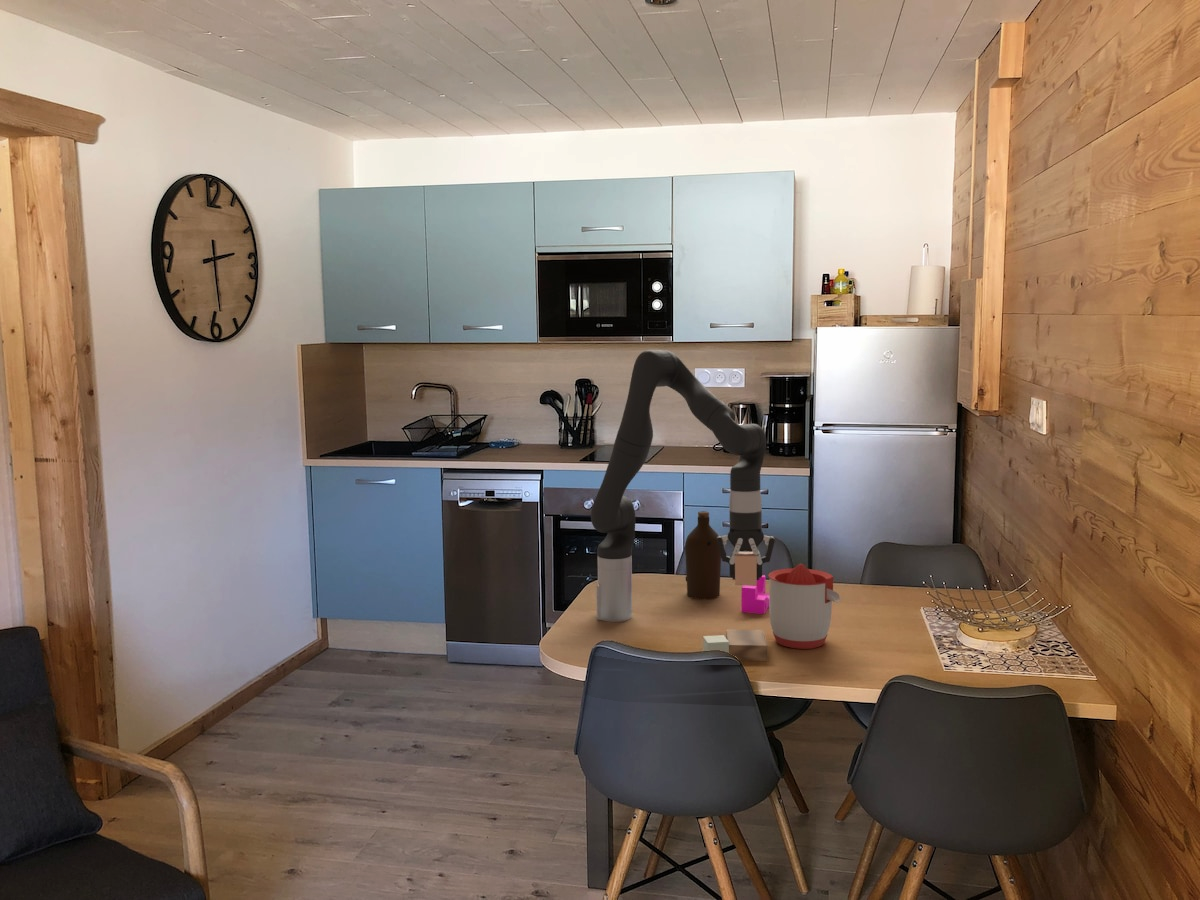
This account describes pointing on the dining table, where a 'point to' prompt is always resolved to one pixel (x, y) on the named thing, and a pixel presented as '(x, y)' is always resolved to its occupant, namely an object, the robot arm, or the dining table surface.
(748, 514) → the robot arm
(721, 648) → the sage cube
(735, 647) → the walnut base block
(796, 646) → the citrus juicer
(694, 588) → the olive oil
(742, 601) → the toy block
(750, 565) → the clay block
